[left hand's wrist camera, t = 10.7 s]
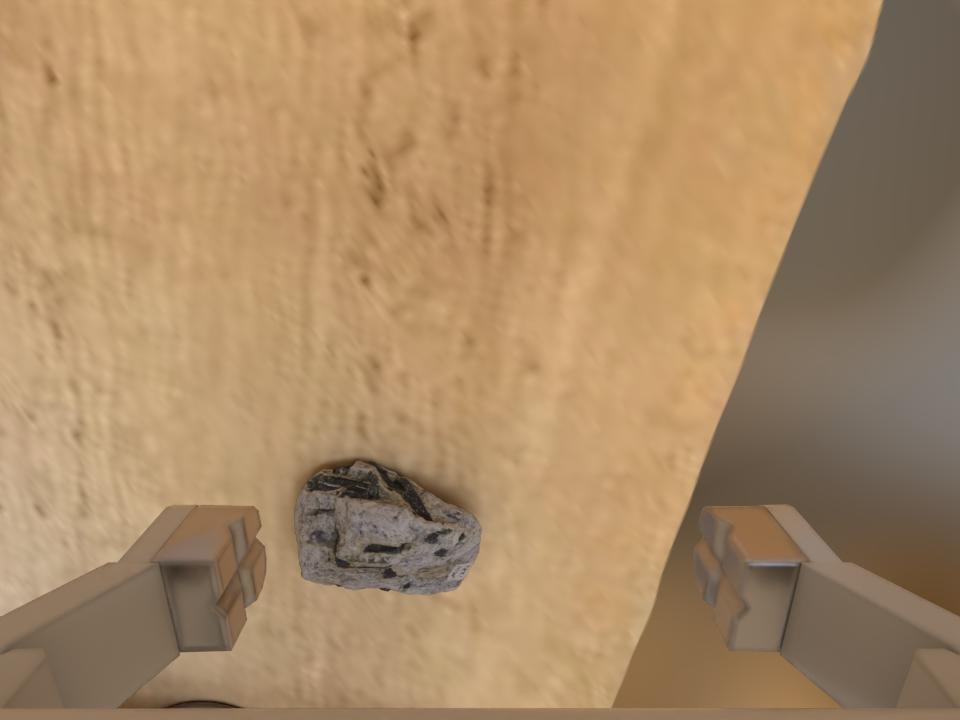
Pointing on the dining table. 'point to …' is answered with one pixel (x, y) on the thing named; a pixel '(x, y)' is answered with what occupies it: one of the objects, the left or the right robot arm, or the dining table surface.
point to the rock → (381, 533)
